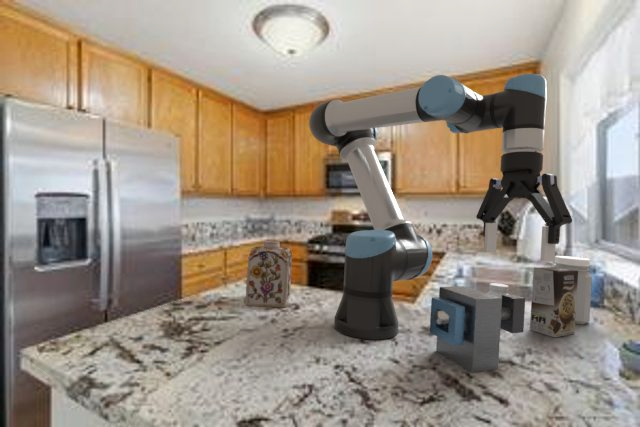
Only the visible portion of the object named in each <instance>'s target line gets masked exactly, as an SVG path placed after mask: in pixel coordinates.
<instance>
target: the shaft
mask: <svg viewBox="0 0 640 427" xmlns="http://www.w3.org/2000/svg"><path fill="white" fill-rule="evenodd" d="M525 309H526V297H522V296H519V295H517V294H516V295H515V294H509V295H502V308H501V326H500V330H503V331H506V332H508V333H511V334H520V333H521V334H522V333H524V330H525V329H524V328H525V327H524V326H525V313H526V312H525V311H526V310H525ZM434 319H435V322H436V323H437V324H449V313H446V312H444V311H436V312H435V313H434Z"/></svg>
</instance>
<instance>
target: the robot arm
mask: <svg viewBox="0 0 640 427" xmlns="http://www.w3.org/2000/svg"><path fill="white" fill-rule="evenodd" d="M547 101H548V97H547V80H546V78H545V77H544V76H543V75H541V74H537V73H523V74H518V75H515V76H514V77H511V78H509V79H507V80H506V82H505V84H504V88H503V90H502V91H499V92H495V93H491V94H490V93H489V94H485V95H481V94H479V93H477V92H476V91H474V90H472V89H470V88H469V87H467V86H466V85H464V84H463V83H462V82H460V81H459V80H457V79H456V78H454V77H451V76H448V75H444V74H437V75H434V76H431V77H430V78H428V80H427V81H425V82H423V85H422V86H417V87H414V88H412V87H411V88H406V89H401V90H398V91H396V90H395V91H393V92H387V93H382V94H377V95H376V94H375V95H372V96H367V97H362V98H357V99H353V100H348V101H343V100H341V99H331V100H328V101H324V102H322V103H319V104H318V105H316V106H315V108H313V110H312V112H311V113H310V115H309V119H308V123H309V124H308V126H309V131H310V132H311V135H312V136H313V137H314V138H315V139H316V140H317V141H318V142H320V143H322V144H325V145H328V146H333V147H336V149H337V151H338V154H339V157H340V159H341V160H342V161H344V162H347V163H348V167H349V168H350V171H351V174H352V175H353V178H354V181H355V184H356V186H357V189H358V191H359V193H360V194H359V195H360V197H361V199H362V201H363V204H364V206H365V209H366V212H367V215H368V217H369V219H370V223H371V224H372V226H373V229H371V230H367V229H366V230H365V229H364V230H357V231H354V232H351V233H349V234H348V235H347V237H346V239H345V240H346V242H345V248H344V268H343V270H344V273H343V290H342V291H343V292H342V296H341V299H340V302H339V304H338V307H337V309H336V313H335V315H334V322H333V323H334V324H333V327H334V329H335V330H336V331H337V332H339V333H341V334H343V335H346V336H347V337H352V338H356V339H361V340H386V339H391V338H394V337H395V336H397V335H398V334H399V320H398V316H397V312H396V309H395V305H394V301H393V290H394V287H393V286H394V282H398V281H399V282H401V281H405V280H406V281H408V280H409V281H410V280H413V279H415V278H418V277H421V276H423V275H424V274H426V273H427V271H428V270H429V269H430V267H431V264H432V261H433V250H432V246H431V244H430V242H429V241H428V239H426V238H425V237H423V236H421V235H419V234H417V230H416V229H415V226H414V225H413V223H412V222H411V221H409V220H407V219H405V218H404V216H403V213H402V211H401V209H400V207H399V205H398V202H397V200H396V197H395V195H394V194H393V191H392V189H391V186H390V183H389V181H388V179H387V176H386V174H385V172H384V170H383V167H382V165H381V163H380V160H379V158H378V156H377V153H376V152H375V150H376V148H377V140H378V138H377V136H378V129H379V128H380V129H381V128H387V127H395V126H403V125H410V124H421V123H429V122H437V121H438V122H440V121H445V123H446V126H447V128H448V129H449V131H450V132H451V133H452V134H471V133H475V132H481V131H488V130H495V129H501V128H502V132H501V133H502V137H501V153H503V154H502V155H501V156H500V172H501V173H502V178H501V179H500V178H494V177H492V178H490V179H489V182H488V189H487V192H486V193H485V195H484V197H483V200H482V201H481V202H482V203H481V205H480V207H479V210H478V212H477V214H476V216H475V217H476V219H477V220H480V221H482V222H483V230H482V231H483V232H482V234H483V237H484V246H483V252H484V253H497V238H498V225H499V224H498V223H497V221H496V220H497V219H498V217H499V216H500V215H501V214H502V213H503V211H504V210H505V209H506V207H507V206H508V204H510V202H512V201H513V200H514V199H515V200H517V199H519V200H520V199H527V200H528V201H530V203H531V204H532V206H533V207H534V209H535V210H536V211H537V213H538V214H539V215H540V217H541V218H542V220H543V222H545V224H544V225H543V226H542V227H541V243H540V244H541V245H540V259H539V260H540V262H555V256H556V245H559V243H560V235H561V234H560V232H561V227H562V226H564V225H567V224H568V225H569V224H571V223H572V222H573V219H572V216H571V214H570V211H569V209H568V207H567V204H566V203H565V199H564V198H563V195H562V193H561V191H560V189H559V187H558V177H557V175H556V174H552V173H543V174H542V175H541V172H542V171H543V169H544V168H543V164H544V154H543V153H542V152H543V151H544V146H545V145H544V144H545V142H544V140H545V125H546V124H545V122H546V113H547V112H546V108H547V107H546V106H547ZM540 185H541V187H542V190H543V192H544V194H545V197H546V199H547V200H546V199H545V198H544V194H543V193H542V192H541V191H540V188H539V187H540Z"/></svg>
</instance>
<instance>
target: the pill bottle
mask: <svg viewBox="0 0 640 427" xmlns="http://www.w3.org/2000/svg"><path fill="white" fill-rule="evenodd" d="M488 289H489V291H488V292H486V293H487V294H490V295H493V296H497V297H500V298H502V295H510V294H509V293H508V291H509V285H507V284H503V283H495V282H491V283H489V286H488Z"/></svg>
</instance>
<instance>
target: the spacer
mask: <svg viewBox="0 0 640 427" xmlns="http://www.w3.org/2000/svg"><path fill="white" fill-rule="evenodd" d="M430 304H431V305H430V318H429V319H430V322H429V333H430V334H431V335H434V336H435V337H436V338H437V337H439V338H441V339H443V340H444V341H446V342H448V343H450V344H452V345H454V346H457V345H463V337H464V319H465V306H462V305H460V304H457V303H454V302H452V301H449V300H446V299H444V298H441V297H439V296H437V297H436V296H434V297H431V303H430ZM436 311H444V312H446V313H449V328H447V327H445V326H444V324H437V323H436V322H435V319H434V313H435V312H436Z"/></svg>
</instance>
